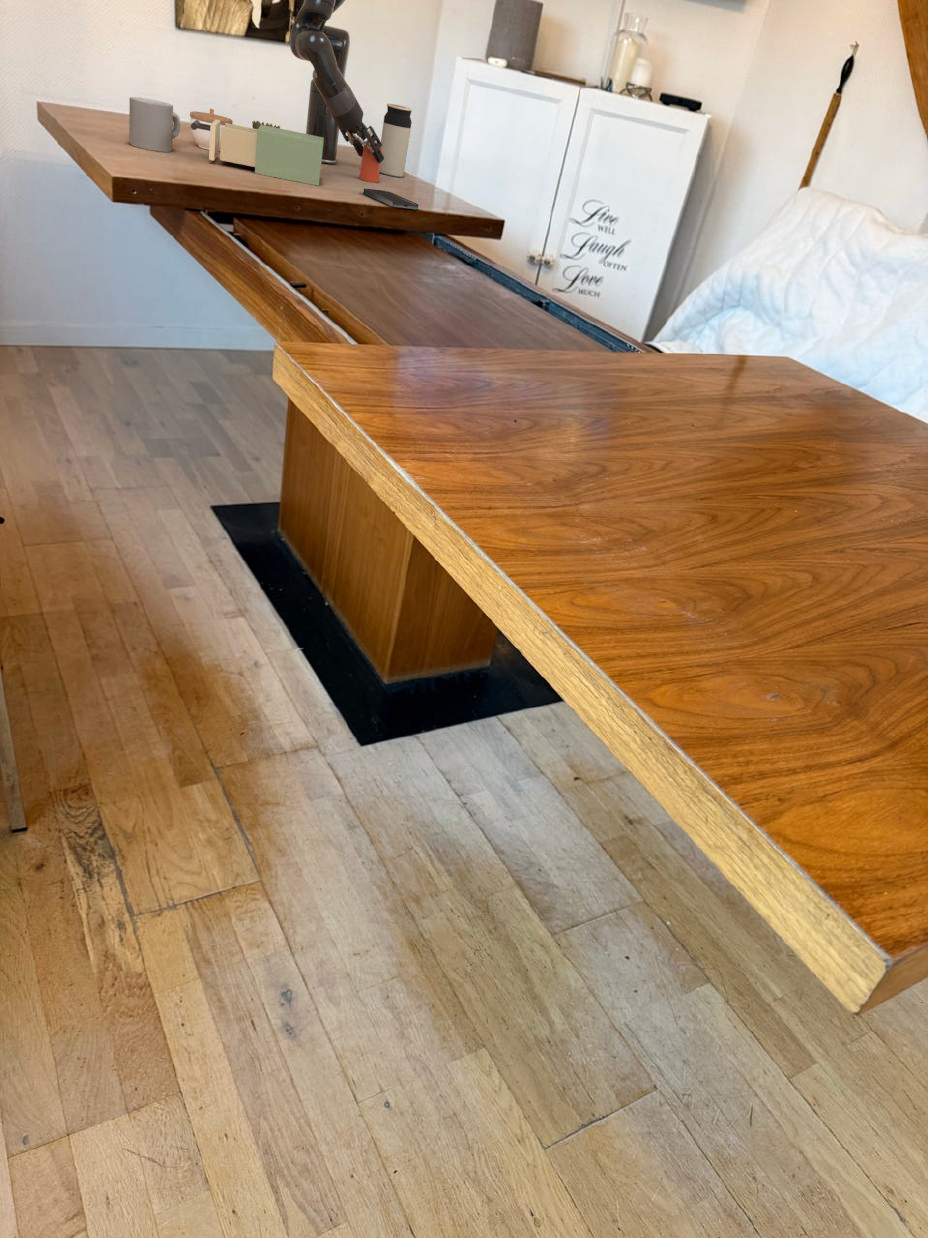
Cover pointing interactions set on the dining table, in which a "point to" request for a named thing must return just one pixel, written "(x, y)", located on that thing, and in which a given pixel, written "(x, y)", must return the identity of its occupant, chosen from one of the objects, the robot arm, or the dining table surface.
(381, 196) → the phone
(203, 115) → the lidded white pot
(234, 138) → the drawer
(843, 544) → the dining table surface
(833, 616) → the dining table surface
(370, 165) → the tea tin
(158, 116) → the coffee mug
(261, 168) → the cabinet
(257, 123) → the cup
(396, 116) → the travel mug
